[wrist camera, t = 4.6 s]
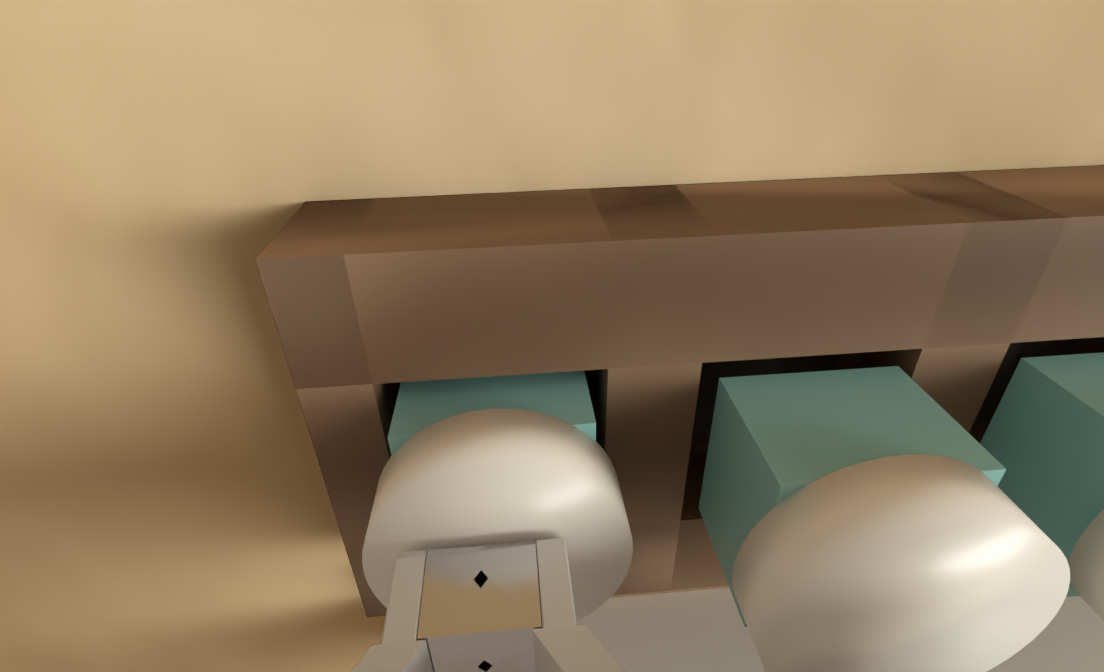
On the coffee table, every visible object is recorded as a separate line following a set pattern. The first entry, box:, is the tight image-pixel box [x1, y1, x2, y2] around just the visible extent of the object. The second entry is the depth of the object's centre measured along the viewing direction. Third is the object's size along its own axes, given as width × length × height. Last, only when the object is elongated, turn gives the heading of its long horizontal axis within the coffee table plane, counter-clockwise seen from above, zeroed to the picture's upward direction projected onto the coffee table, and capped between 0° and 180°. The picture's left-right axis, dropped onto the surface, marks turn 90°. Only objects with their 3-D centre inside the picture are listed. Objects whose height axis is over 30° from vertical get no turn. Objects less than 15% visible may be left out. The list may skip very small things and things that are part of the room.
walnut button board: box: [255, 165, 1104, 617], centre depth 14 cm, size 10×27×3 cm, turn 91°
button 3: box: [699, 366, 1070, 672], centre depth 11 cm, size 5×5×4 cm
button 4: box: [362, 371, 633, 622], centre depth 12 cm, size 5×5×4 cm
